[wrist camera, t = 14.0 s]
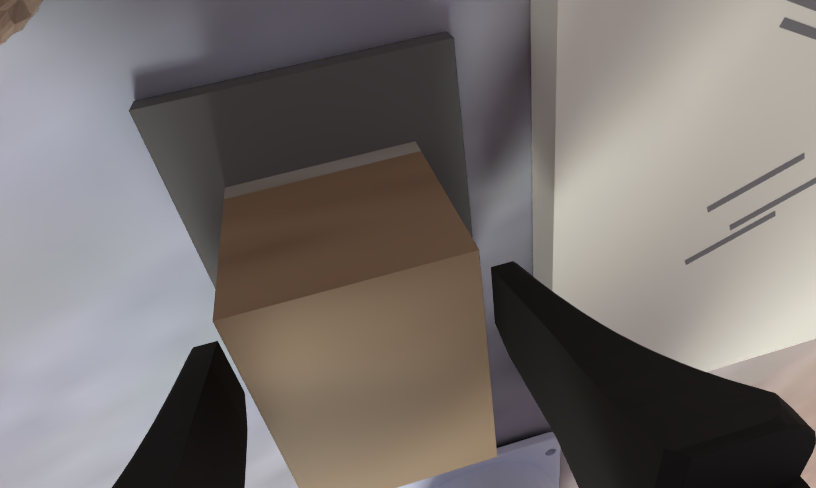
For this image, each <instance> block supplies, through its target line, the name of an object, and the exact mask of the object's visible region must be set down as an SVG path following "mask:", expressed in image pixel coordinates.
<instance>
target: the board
mask: <svg viewBox="0 0 816 488" xmlns="http://www.w3.org/2000/svg"><path fill="white" fill-rule="evenodd" d="M530 6H531V108H532V210H533V277H534V278H536V279H537V280H538V281H540V282H541V283H542V284H544V285H545V286H546V287H548V288H549V289H550V290H552V291H553V292H554V293H556V294H557V295H558V296H560V297H561V298H563V299H564V300H566V301H567V302H569V303H570V304H571V305H573V306H574V307H576V308H577V309H579V310H580V311H582V312H583V313H585V314H586V315H588V316H590V317H591V318H593V319H594V320H596V321H598V322H599V323H601V324H603V325H604V326H606V327H608V328H609V329H611V330H613V331H615V332H616V333H618V334H620V335H622V336H624V337H626V338H628V339H630V340H632V341H634V342H636V343H638V344H639V345H642V346H644V347H646V348H648V349H650V350H652V351H654V352H657V353H659V354H662V355H664V356H666V357H669V358H671V359H673V360H676V361H678V362H680V363H683V364H686V365H688V366H691V367H693V368H696V369H699V370H702V371H704V372H707V371H711V370H714V369H717V368H721V367H724V366H727V365H731V364H734V363H737V362H740V361H744V360H747V359H750V358H754V357H757V356H760V355H764V354H767V353H770V352H773V351H777V350H780V349H783V348H787V347H790V346H793V345H797V344H800V343H803V342H806V341H810V340H813V339H816V0H530Z"/></svg>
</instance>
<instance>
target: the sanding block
mask: <svg viewBox="0 0 816 488" xmlns="http://www.w3.org/2000/svg"><path fill="white" fill-rule="evenodd" d="M213 323H214V325H215V327H216V329H217V331H218V333H219V334H220V336H221V338H222V340H223V342H224V344H225V346H226V348H227V350H228V352H229V354H230V356H231V358H232V360H233V362H234V363H235V365H236V367H237V369H238V371H239V373H240V375H241V377H242V379H243V381H244V383H245V385H246V387H247V389H248V391H249V392H250V394H251V396H252V398H253V400H254V402H255V404H256V406H257V408H258V410H259V412H260V414H261V416H262V418H263V419H264V421H265V423H266V425H267V427H268V429H269V431H270V433H271V435H272V437H273V439H274V441H275V443H276V445H277V447H278V448H279V450H280V452H281V454H282V456H283V458H284V460H285V462H286V464H287V466H288V468H289V470H290V472H291V474H292V476H293V477H294V479H295V481H296V483H297V485H298V487H299V488H398V487H401V486H404V485H407V484H411V483H414V482H417V481H420V480H424V479H427V478H430V477H433V476H437V475H440V474H443V473H446V472H450V471H453V470H456V469H459V468H463V467H466V466H469V465H472V464H476V463H479V462H482V461H485V460H489V459H492V458H495V457H497V448H496V437H495V425H494V414H493V403H492V391H491V380H490V369H489V357H488V346H487V335H486V323H485V312H484V301H483V289H482V278H481V267H480V256H479V249H478V247H477V246H476V244H475V242H474V241H473V239H472V237H471V235H470V234H469V232H468V230H467V229H466V227H465V225H464V223H463V222H462V220H461V218H460V217H459V215H458V213H457V212H456V210H455V208H454V206H453V205H452V203H451V201H450V200H449V198H448V196H447V194H446V193H445V191H444V189H443V188H442V186H441V184H440V182H439V181H438V179H437V177H436V176H435V174H434V172H433V170H432V169H431V167H430V165H429V164H428V162H427V160H426V158H425V157H424V155H423V153H422V152H421V150H420V148H419V147H418V145H417V143H416V141H414V142H410V143H406V144H402V145H398V146H394V147H389V148H385V149H381V150H377V151H373V152H369V153H365V154H361V155H357V156H353V157H349V158H344V159H340V160H336V161H332V162H328V163H324V164H320V165H316V166H312V167H308V168H304V169H299V170H295V171H291V172H287V173H283V174H279V175H275V176H271V177H267V178H263V179H259V180H254V181H250V182H246V183H242V184H238V185H234V186H230V187H226V188H225V192H224V203H223V214H222V225H221V236H220V247H219V258H218V269H217V280H216V291H215V302H214V313H213Z"/></svg>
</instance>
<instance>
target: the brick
mask: <svg viewBox="0 0 816 488" xmlns="http://www.w3.org/2000/svg"><path fill="white" fill-rule="evenodd" d="M42 1H43V0H0V45H1V44H2V43H4V42H5V41H7V39H8V38H9V37H10V36H11V35H12V34H14V33H16V32H18V31H21V30H23V28H24V27H25V25H26V24H27V22H28V21H29V20H30V18H31V17H32V16H33V15H34V14H35V13H36V12H37V11H38V9H39V5H40V4H41V3H42Z"/></svg>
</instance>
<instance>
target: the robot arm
mask: <svg viewBox="0 0 816 488" xmlns="http://www.w3.org/2000/svg"><path fill="white" fill-rule="evenodd" d="M491 274H492V288H493V302H494V316H495V324H496V326H497V328H498V331H499V333H500V336H501V338H502V340H503V343H504V345H505V347H506V350H507V352H508V354H509V356H510V358H511V360H512V361H513V363H514V365H515V367H516V368H517V370H518V372H519V374H520V375H521V377H522V379H523V380H524V382H525V384H526V386H527V387H528V389H529V391H530V392H531V394H532V396H533V398H534V399H535V401H536V403H537V404H538V406H539V408H540V409H541V411H542V413H543V415H544V416H545V418H546V420H547V421H548V423H549V425H550V427H551V429H552V431H553V432H549V433H545V434H541V435H538V436H535V437H532V438H528V439H525V440H522V441H518V442H515V443H512V444H509V445H505V446H502V447H499V448H497V457H495V458H492V459H489V460H485V461H482V462H479V463H476V464H472V465H469V466H466V467H463V468H459V469H456V470H453V471H450V472H446V473H443V474H440V475H437V476H433V477H430V478H427V479H424V480H420V481H417V482H414V483H411V484H407V485H404V486H401V487H398V488H559V473H560V449H562V451H563V453H564V456H565V458H566V460H567V462H568V464H569V467H570V469H571V471H572V473H573V476H574V478H575V480H576V482H577V485H578V487H579V488H810V487H809V486H808V484H807V483H806V482H805V481H804V480H803V479H802V478H801V477H800V475H801V473H802V471H803V470H804V468H805V466H806V464H807V462H808V460H809V458H810V456H811V454H812V453H813V450H814V447H815V444H816V436H815V431H814V430H813V429H812V428H811V427H810V426H809V425H808V424H807V423H806V422H805V421H804V420H803V419H802V418H801V417H800V416H799V415H798V414H797V413H796V412H795V411H794V410H793V409H792V408H791V407H790V406H789V405H788V404H787V403H786V402H785V401H784V400H782V399H781V398H780V397H779V396H778V395H777V394H776V393H773V392H769V391H766V390H762V389H759V388H755V387H752V386H748V385H745V384H741V383H738V382H734V381H731V380H728V379H725V378H722V377H719V376H716V375H713V374H710V373H707V372H704V371H702V370H699V369H696V368H693V367H691V366H688V365H686V364H683V363H680V362H678V361H676V360H673V359H671V358H669V357H666V356H664V355H662V354H659V353H657V352H654V351H652V350H650V349H648V348H646V347H644V346H642V345H639V344H638V343H636V342H634V341H632V340H630V339H628V338H626V337H624V336H622V335H620V334H618V333H616V332H615V331H613V330H611V329H609V328H608V327H606V326H604V325H603V324H601V323H599V322H598V321H596V320H594V319H593V318H591V317H590V316H588V315H586V314H585V313H583V312H582V311H580V310H579V309H577V308H576V307H574V306H573V305H571V304H570V303H569V302H567V301H566V300H564V299H563V298H561V297H560V296H558V295H557V294H556V293H554V292H553V291H552V290H550V289H549V288H548V287H546V286H545V285H544V284H542V283H541V282H540V281H538V280H537V279H536V278H534V277H533V276H532V275H531V274H529V273H528V272H527V271H525V270H524V269H523V268H522V267H520V266H519V265H518V264H516V263H515V262H513V261H512V262H508V263H505V264H501V265H497V266H494V267H491ZM246 451H247V416H246V404H245V393H244V391H243V389H242V387H241V385H240V383H239V381H238V379H237V377H236V375H235V373H234V371H233V369H232V368H231V366H230V364H229V362H228V360H227V358H226V356H225V354H224V352H223V350H222V348H221V346H220V345H219V343H218V341H216V342H212V343H208V344H204V345H201V346H197V347H193V349H192V350H191V352H190V354H189V356H188V358H187V360H186V362H185V364H184V366H183V368H182V370H181V372H180V374H179V376H178V378H177V380H176V382H175V384H174V385H173V387H172V389H171V391H170V393H169V395H168V397H167V399H166V401H165V402H164V404H163V406H162V408H161V410H160V412H159V413H158V415H157V417H156V419H155V421H154V423H153V424H152V426H151V428H150V429H149V431H148V433H147V434H146V436H145V438H144V439H143V441H142V443H141V444H140V446H139V447H138V449H137V451H136V452H135V454H134V456H133V457H132V459H131V460H130V462H129V463H128V465H127V466H126V468H125V469H124V471H123V472H122V474H121V475H120V477H119V478H118V480H117V481H116V483H115V484H114V485H113V487H112V488H244V487H245V469H246Z"/></svg>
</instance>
